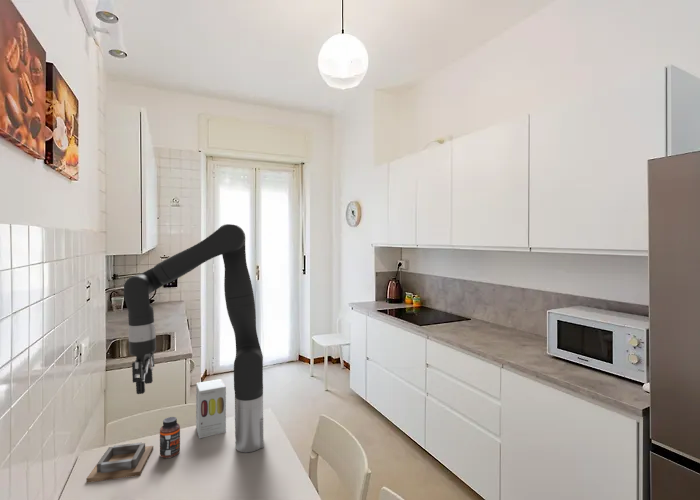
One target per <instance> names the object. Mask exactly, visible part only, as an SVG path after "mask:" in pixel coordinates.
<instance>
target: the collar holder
mask: <svg viewBox="0 0 700 500" xmlns="http://www.w3.org/2000/svg"><path fill="white" fill-rule="evenodd" d="M153 451H154V445H149V446H146V443H145V442H134V443H125V444H117V445H116V444H115V445H113V446H108V448H107V449H106V451H105V452H104V453H103V455H102V456H101V458H100V459H99V461H98V462H97V463H96V465H95V466H94V467H93V468H92V470H91V471H90V473H89V474H88V476H87V477H86V483H87V484H88V483H94V482H101V481H109V480H115V479H117V480H118V479H122V478H130V477H138V476H141V475H142V473H143V471H144V469H145V467H146V466H147V463H148V461H149V459H150V457H151V455H152V453H153Z"/></svg>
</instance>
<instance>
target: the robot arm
mask: <svg viewBox="0 0 700 500" xmlns="http://www.w3.org/2000/svg"><path fill="white" fill-rule="evenodd" d="M246 254H247V253H246V234H245V232H244V230H243V229H242V228H241V227H240V226H238V225H237V224H235V223H224V224H223V225H220V227H219V228H218V229H216V230H215V231H214V232H212V233H211V234H209V236H207V237H206V238H205V239H203V240H201V241H200V242H198V243H196V244H194V245H193V246H191V247H189V248H186V249H184V250H183V251H179V252H178V253H176V254H174V255H172V256H170V257H168V258H166V259H164V260H161V262H159V263H156V265H154V267H152V268H150V269H148V270H146V271H145V270H144V271H143V272H141V273H139V274H137V275H133V276H130V277H129V278H127V279H126V281H125V282H124V284H123V298H124V300H125V301H124V302H125V306H126V308H127V312H128V313H127V314H128V315H127V317H128V331H127V334H128V352H129V353H128V354H129V355H130V356H135V360H134V361H133V362H132V363H131V371H132V383H135V389H136V391H135V392H136V394H137V395H143V394H144V393H146V385H148V384H152V383H153V379H154V377H153V370H154V367H155V366H156V365H155V355H154V354H155V353H154V352H156V350H157V337H156V335H157V334H156V326H155V325H156V324H155V318H154V317H155V315H154V313H155V312H154V307H153V306H152V304H150V294H152V293H153V292H155V291H157V290H158V289H160V288H161V287H163V286H165V285H167V284H169V283H171V282H173V281H176V280H178V279H179V278H181V277H182V276H185V275H186V274H188V273H190V272H191V271H193V270H194V269H196V268H198V267H199V266H201V265H202V264H204V263H205V262H206V263H207V262H208V261H209V260H212V259H214V258H216V257H218V256H222V259H223V265H224V277H223V278H224V279H223V281H224V283H223V284H224V285H223V286H224V287H223V289H224V299H225V306H226V311H227V315H228V318H229V321H230V324H231V326H232V329H233V333H234V340H235V357H234V362H233V389H234V429H235V430H234V437H235V438H234V445H235V446H234V447H235V448H234V449H235V450H236V451H238V452H239V453H252V452H255V451H257V450H260V449H263V448H264V366H263V365H264V363H263V362H264V356H263V352H262V349H261V345H260V341H259V337H258V333H257V317H256V316H257V314H256V313H257V312H256V302H255V296H254V289H253V284H252V280H251V275H250V272H249V269H248V264H247V255H246Z"/></svg>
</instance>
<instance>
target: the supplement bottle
mask: <svg viewBox="0 0 700 500" xmlns="http://www.w3.org/2000/svg"><path fill="white" fill-rule="evenodd" d="M180 451H181V425H180V424H179V423H178V420H177V417H175V416H168V417H165V418H164V419H163V421H162V426H161V427H160V429H159V456H160V457H161V458H163V459H170V458H174V457H175V456H177V455H178V454H179V453H180Z"/></svg>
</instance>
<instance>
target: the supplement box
mask: <svg viewBox="0 0 700 500" xmlns="http://www.w3.org/2000/svg"><path fill="white" fill-rule="evenodd" d="M195 385H196V386H195V392H196V393H195V396H196V397H195V400H196V401H195V418H196V419H195V427H196V428H195V429H196V432H197V435H198V438H199V439H202V438H207V437H210V436H215V435H219V434H224V433H226V432H227V431H226V430H227V429H226V428H227V423H226V422H227V414H226V413H227V396H226V395H227V388H226V384H225V383H224V381H223V379H222V378H219V379H212V380H206V381H200V382H199V381H198V382H196V384H195Z"/></svg>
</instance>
